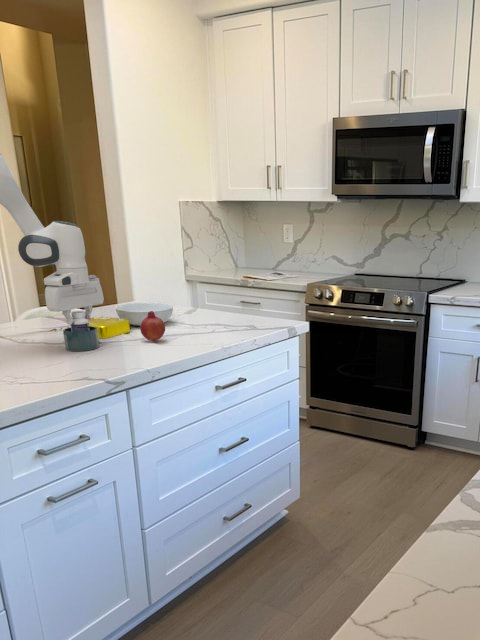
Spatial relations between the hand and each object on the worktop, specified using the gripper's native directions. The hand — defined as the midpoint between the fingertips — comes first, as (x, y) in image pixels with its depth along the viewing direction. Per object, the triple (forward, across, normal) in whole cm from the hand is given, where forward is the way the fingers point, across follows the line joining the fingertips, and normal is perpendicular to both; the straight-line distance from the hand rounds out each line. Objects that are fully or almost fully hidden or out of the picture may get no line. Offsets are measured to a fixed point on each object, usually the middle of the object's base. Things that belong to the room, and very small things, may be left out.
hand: (79, 322), depth 190 cm
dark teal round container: (+8, 0, 0) cm, 8 cm away
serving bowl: (+8, -42, -9) cm, 44 cm away
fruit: (+8, -19, +13) cm, 24 cm away
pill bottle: (+7, 0, 0) cm, 7 cm away
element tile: (+8, -20, -11) cm, 24 cm away
